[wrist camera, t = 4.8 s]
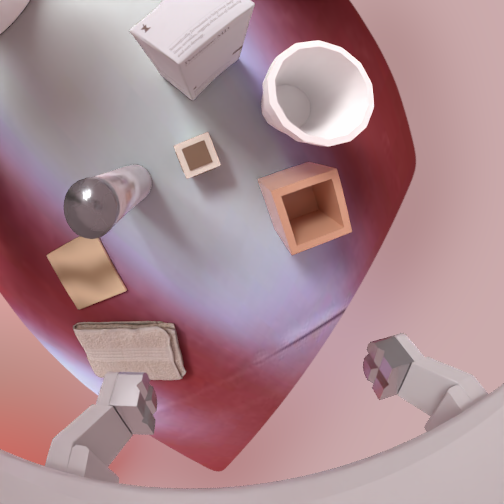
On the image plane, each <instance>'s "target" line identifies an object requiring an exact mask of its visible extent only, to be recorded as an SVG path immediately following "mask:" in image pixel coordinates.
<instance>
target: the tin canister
mask: <svg viewBox="0 0 504 504" xmlns="http://www.w3.org/2000/svg"><path fill="white" fill-rule="evenodd" d="M151 187H152V179H151V176H150V173H149V172H148V171H147V169H145V168H144V167H143V166H140V165H136V164H133V165H128V166H125V167H122V168H119V169H115V170H112V171H109V172H106V173H103V174H100V175H97V176H94V177H88V178H85V179H82V180H79V181H77V182H76V183H74V184H73V185H72V186H71V187H70V189H69V190H68V192H67V194H66V196H65V200H64V214H65V218H66V220H67V223H68V225H69V226H70V228H71V229H72V230H73V231H74V232H75V233H76V234H78V235H79V236H81V237H84V238H87V239H96V238H99V237H102V236H103V235H105V234H106V233H107V232H108V231H109V230H111V229H112V227H113V226H114V225H115V224H116V222H118V221H119V220H120V219H121V218H122V217H123V216H124V215H125V214H127V213H128V212H129V211H130V210H131V209H132V208H134V207H135V206H136V205H137V204H138V203H139V202H141V201H142V200H143V199H144V198H145V197H146V196H147V195H148V194H149V192H150V190H151Z"/></svg>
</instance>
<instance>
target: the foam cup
mask: <svg viewBox="0 0 504 504" xmlns="http://www.w3.org/2000/svg"><path fill="white" fill-rule="evenodd" d="M262 85H263V95H262V100H261V108H262V115H263V116H264V118H265V120H266V121H267V123H268V124H269V125H271V126H272V127H274V128H275V129H277V130H278V131H280V132H283V133H285V134H287V135H288V136H290V137H291V138H293V139H294V140H295V141H298V142H303V143H308V144H313V145H317V146H327V147H329V146H333V145H337V144H341V143H345V142H349V141H352V140H353V139H354V138H355V137H356V136H357V135H358V134H359V133H360V132H361V131H363V130H364V129H365V128H366V127H367V125H368V122H369V119H370V117H371V114H372V111H373V108H374V99H373V88H372V83H371V81H370V79H369V77H368V75H367V73H366V72H365V70H364V68H363V66H362V64H361V63H360V62H359V61H358V60H357V59H355V58H354V57H353V56H352V55H351V54H349V53H348V52H347V51H346V50H344V49H343V48H342V47H339V46H336V45H333V44H330V43H326V42H323V41H320V40H317V41H309V42H301V43H295V44H294V45H292V46H291V47H289V48H288V49H287V50H285V51H284V52H282V53H281V54H280V55H278V56H277V57H276V58H275V60H274V61H273V62H272V63H271V65H270V68H269V70H268V72H267V74H266V77H265V79H264V81H263V84H262Z"/></svg>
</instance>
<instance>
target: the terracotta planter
mask: <svg viewBox="0 0 504 504" xmlns="http://www.w3.org/2000/svg"><path fill="white" fill-rule="evenodd" d="M257 180H258V183H259V186H260V189H261V192H262V195H263V197H264V200H265V203H266V206H267V209H268V212H269V215H270V217H271V220H272V223H273V226H274V229H275V231H276V232H277V234H278V235H279V237H280V238H281V240H282V241H283V243H284V244H285V246H286V247H287V249H288V250H289V252H290V253H291V255H294V254H297V253H299V252H302V251H305V250H307V249H310V248H312V247H315V246H317V245H320V244H323V243H325V242H328V241H330V240H333V239H335V238H338V237H340V236H343V235H346V234H348V233H351V232H352V229H351V224H350V220H349V215H348V211H347V206H346V202H345V198H344V194H343V190H342V186H341V182H340V178H339V175H338V171H337V169H336V168H332V167H329V166H325V165H321V164H317V163H312V162H306V163H303V164H300V165H297V166H294V167H291V168H288V169H285V170H282V171H279V172H276V173H273V174H270V175H267V176H265V177H262V178H259V179H257Z"/></svg>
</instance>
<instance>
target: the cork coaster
mask: <svg viewBox="0 0 504 504" xmlns="http://www.w3.org/2000/svg"><path fill="white" fill-rule="evenodd" d="M46 256H47V258H48V260H49V261H50V263H51V265H52V267H53V269H54V271H55V272H56V274H57V276H58V278H59V279H60V281H61V283H62V284H63V286H64V288H65V289H66V291H67V293H68V294H69V296H70V298H71V299H72V301H73V302H74V304H75V305H76V307H77V309H78V310H80V309H82V308H85V307H87V306H90V305H92V304H95V303H97V302H100V301H102V300H105V299H107V298H110V297H112V296H115V295H117V294H120V293H123V292H125V291H127V288H126V287H125V285H124V283H123V281H122V280H121V278H120V276H119V274H118V273H117V271H116V269H115V267H114V265H113V264H112V262H111V260H110V258H109V256H108V254H107V252H106V250H105V248H104V247H103V245H102V243H101V241H100V239H99V238H96V239H87V238H84V237H81V236H79V237H77V238H75V239H74V240H72V241H70V242H68V243H66V244H65V245H63V246H61V247H59V248H58V249H56V250H54V251H52V252H51V253H49V254H47V255H46Z"/></svg>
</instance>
